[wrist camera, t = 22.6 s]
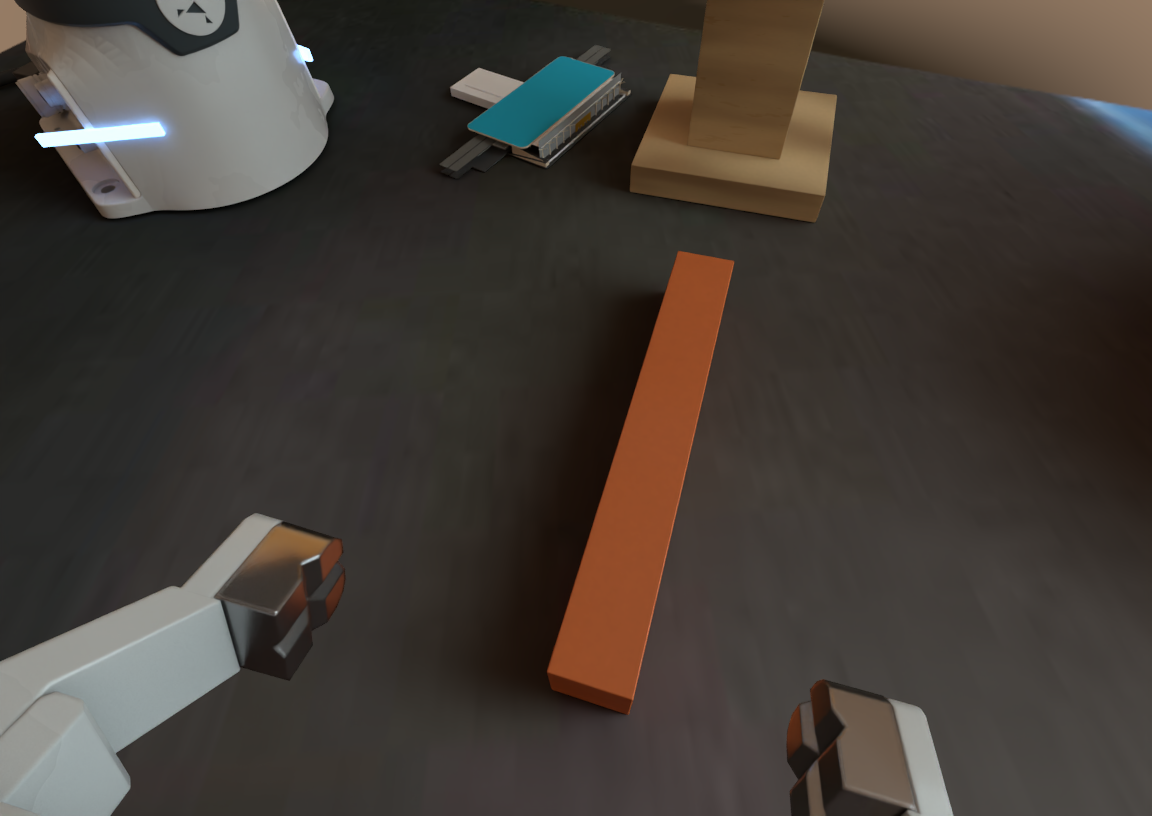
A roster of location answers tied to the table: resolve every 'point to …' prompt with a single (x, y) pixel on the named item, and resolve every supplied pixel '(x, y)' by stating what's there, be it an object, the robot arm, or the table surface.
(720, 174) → the birch stand
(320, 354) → the table surface
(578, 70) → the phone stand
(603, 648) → the rod
